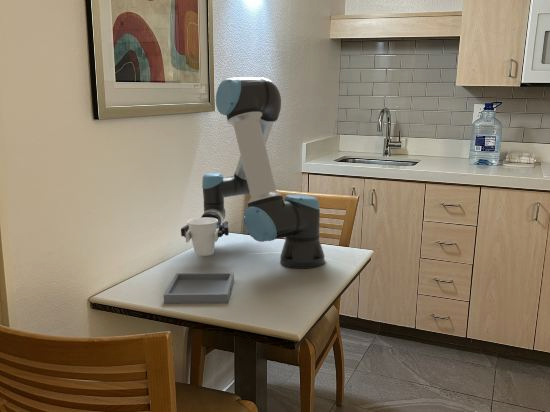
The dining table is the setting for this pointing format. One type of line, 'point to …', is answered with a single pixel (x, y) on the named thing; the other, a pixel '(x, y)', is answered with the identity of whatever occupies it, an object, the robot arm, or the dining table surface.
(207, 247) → the cup
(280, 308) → the dining table surface
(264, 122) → the robot arm
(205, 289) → the tray
